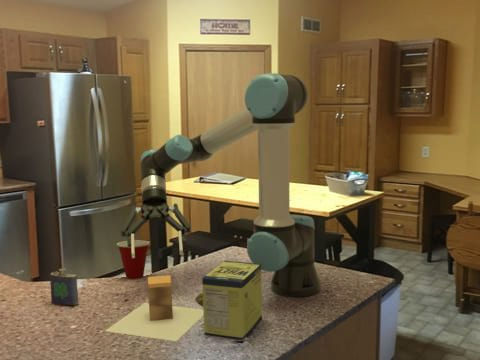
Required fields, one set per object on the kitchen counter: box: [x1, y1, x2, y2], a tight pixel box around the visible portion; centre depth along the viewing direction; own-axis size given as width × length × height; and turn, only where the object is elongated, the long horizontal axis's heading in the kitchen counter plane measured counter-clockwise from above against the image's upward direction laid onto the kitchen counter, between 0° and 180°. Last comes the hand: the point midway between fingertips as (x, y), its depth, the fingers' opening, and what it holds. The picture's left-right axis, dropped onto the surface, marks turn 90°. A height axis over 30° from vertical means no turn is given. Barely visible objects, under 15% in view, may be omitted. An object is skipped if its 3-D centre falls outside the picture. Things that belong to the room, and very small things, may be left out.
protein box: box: [201, 260, 263, 344], centre depth 134 cm, size 10×16×16 cm
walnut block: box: [147, 275, 173, 321], centre depth 141 cm, size 6×6×10 cm
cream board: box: [104, 302, 204, 342], centre depth 139 cm, size 20×20×1 cm
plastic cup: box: [116, 239, 150, 280], centre depth 178 cm, size 11×11×12 cm
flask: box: [49, 268, 79, 307], centre depth 154 cm, size 9×3×11 cm, turn 68°
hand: (157, 254), depth 150 cm, fingers open, 13 cm apart
